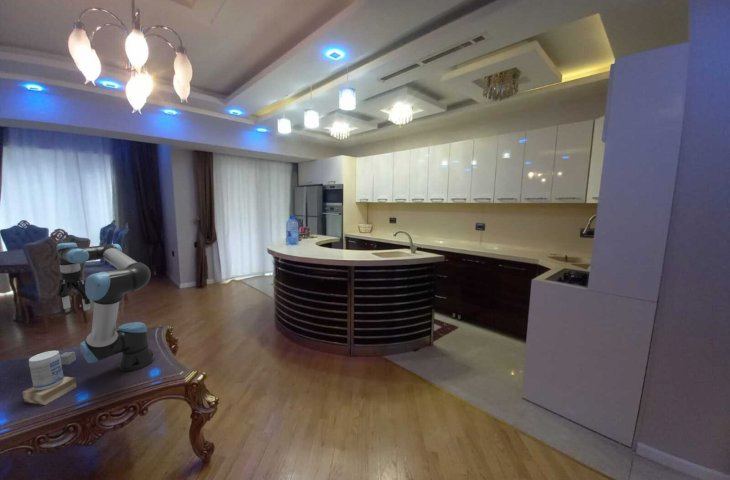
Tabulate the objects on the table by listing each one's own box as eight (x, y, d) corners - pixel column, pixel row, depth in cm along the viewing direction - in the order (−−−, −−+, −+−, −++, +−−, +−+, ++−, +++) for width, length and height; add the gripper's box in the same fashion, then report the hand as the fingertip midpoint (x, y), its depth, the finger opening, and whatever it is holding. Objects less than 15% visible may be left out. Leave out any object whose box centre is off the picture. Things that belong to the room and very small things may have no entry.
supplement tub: (60, 386, 129) (55, 357, 127) (29, 394, 124) (23, 364, 122) (67, 375, 137) (62, 347, 135) (38, 382, 132) (33, 354, 130)
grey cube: (76, 359, 159) (74, 351, 159) (68, 364, 155) (67, 356, 154) (66, 360, 159) (64, 352, 158) (58, 365, 154) (56, 357, 153)
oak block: (76, 387, 136) (75, 377, 135) (45, 404, 124) (43, 394, 123) (57, 384, 138) (55, 375, 137) (24, 401, 126) (22, 391, 125)
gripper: (97, 270, 150) (103, 307, 154) (61, 268, 155) (67, 304, 158) (81, 274, 143) (87, 313, 146) (43, 272, 147) (50, 310, 151)
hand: (77, 308), depth 152 cm, fingers open, 13 cm apart
